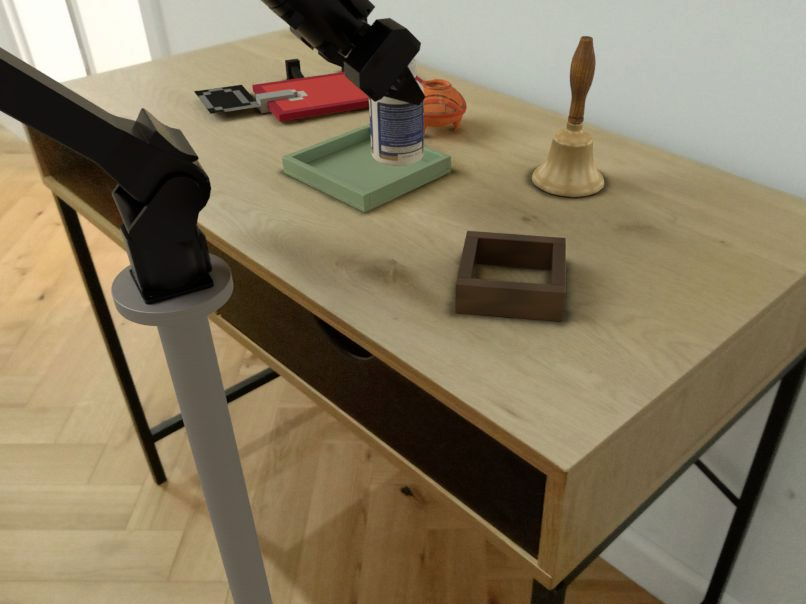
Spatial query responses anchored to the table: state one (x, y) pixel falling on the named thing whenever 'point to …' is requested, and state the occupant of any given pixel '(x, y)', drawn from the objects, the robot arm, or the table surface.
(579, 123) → the hand bell
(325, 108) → the red board with handle
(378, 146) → the pill bottle
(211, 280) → the robot arm
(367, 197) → the tray
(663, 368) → the table surface
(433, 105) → the pot
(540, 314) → the bottle holder
